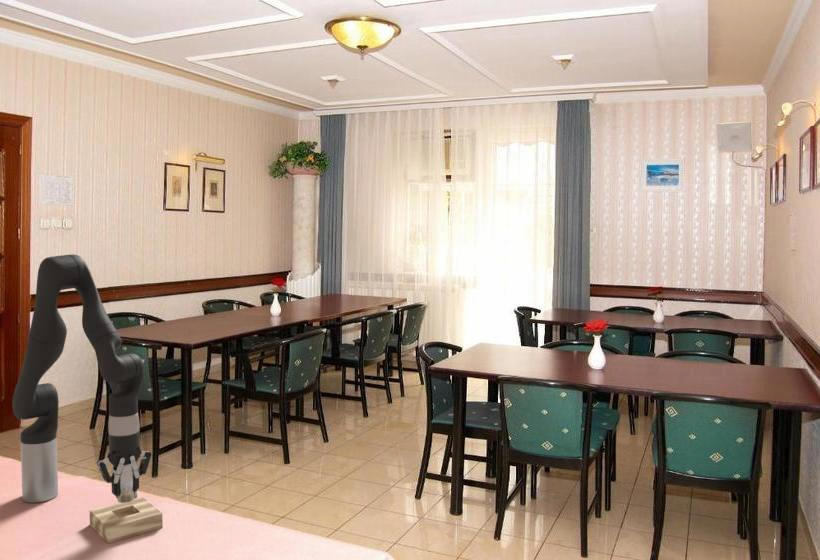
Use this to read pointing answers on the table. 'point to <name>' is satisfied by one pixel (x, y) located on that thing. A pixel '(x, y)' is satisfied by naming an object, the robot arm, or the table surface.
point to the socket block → (125, 519)
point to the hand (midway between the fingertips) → (125, 493)
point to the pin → (126, 484)
